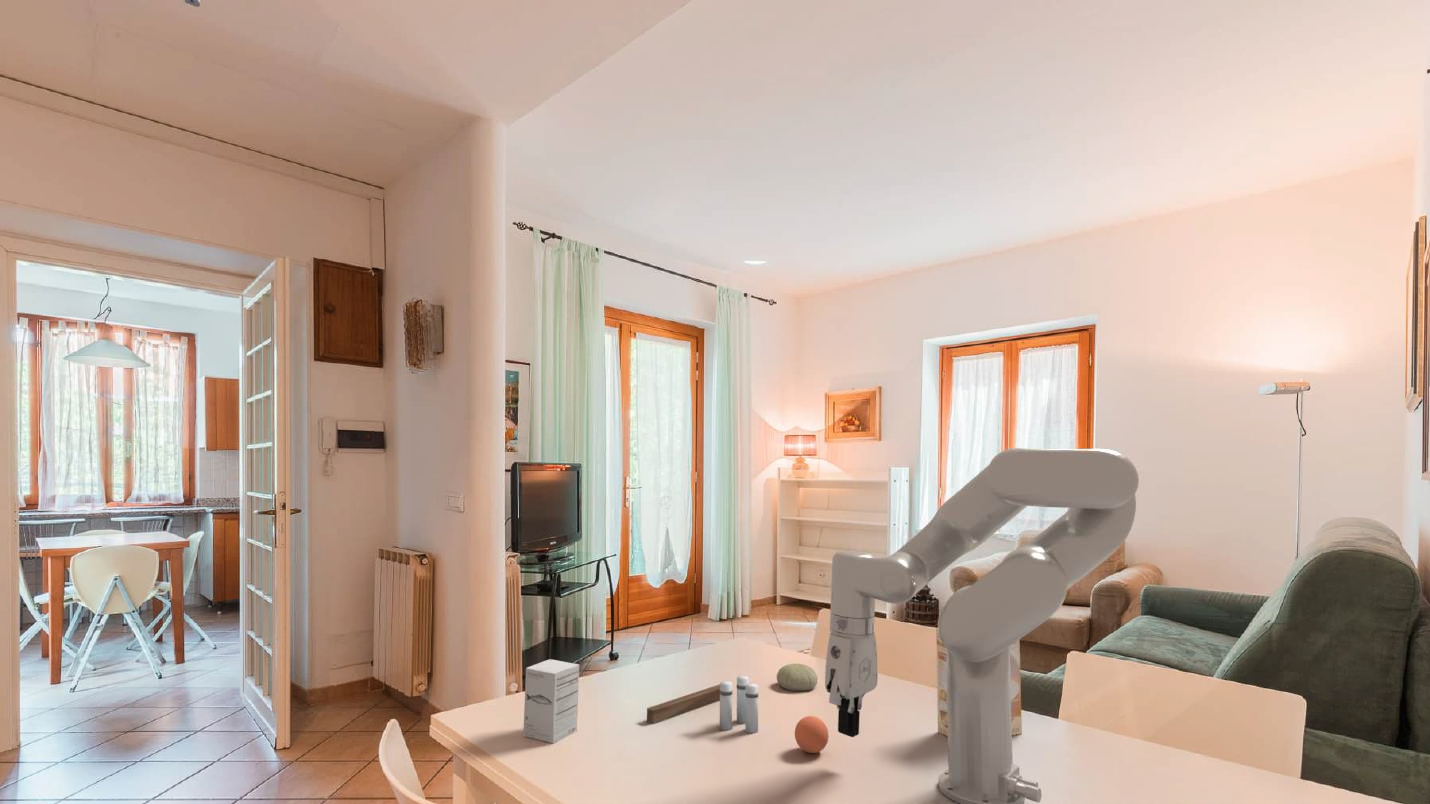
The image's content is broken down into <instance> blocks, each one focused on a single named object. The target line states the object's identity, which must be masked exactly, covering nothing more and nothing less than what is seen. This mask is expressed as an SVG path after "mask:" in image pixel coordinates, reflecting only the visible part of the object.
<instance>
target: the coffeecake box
mask: <svg viewBox="0 0 1430 804" xmlns="http://www.w3.org/2000/svg"><path fill="white" fill-rule="evenodd" d="M935 630H936V632H935V633H936V683H937V684H936V689H937V691H936V693H937V732H938V733H939V734H941V735H944V736H946V737H947V738H948V724H947V649H946V647H945V646H944V645H943V643H942V641H941V639H940V636H939V632H938V628H936V629H935ZM1020 641H1021V639H1019V640H1018V641H1016V642H1015V643H1013V644H1012V645H1010V679H1011V725H1012V735H1013V736H1018V735H1022V734H1023V730H1022V729H1023V726H1022V725H1023V724H1022V723H1023V721H1022V691H1021V690H1022V687H1021V686H1022V685H1021V683H1022V682H1021V652H1020V651H1021V650H1020V649H1021V648H1020V647H1021V645H1020ZM1016 734H1017V735H1016Z"/></svg>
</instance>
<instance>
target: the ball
mask: <svg viewBox="0 0 1430 804" xmlns="http://www.w3.org/2000/svg"><path fill="white" fill-rule="evenodd" d="M829 738H830V737H829V731H828V727H827V724H825V722H824V721H823V720H822V719H821V718H819V717H817V716H814V715H809V716H808V715H807V716H805V717H803V718H800V720H799V721H798V722H797V723H796V725H795V729H794V739H795V741H796V743H797V745H798V747H799V748H800V750H802V751H804V752H806V753H808V754H817V753H819V752H821V751H823V750H824V749H825V747H826V746H827V745H828V743H829Z"/></svg>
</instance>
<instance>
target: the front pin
mask: <svg viewBox="0 0 1430 804" xmlns="http://www.w3.org/2000/svg"><path fill="white" fill-rule="evenodd" d="M745 696H746V723H745V732H747V733H749V734H756V733H758V732H759V685H758V684H757V683H749V684H747V685H746V692H745Z"/></svg>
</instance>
